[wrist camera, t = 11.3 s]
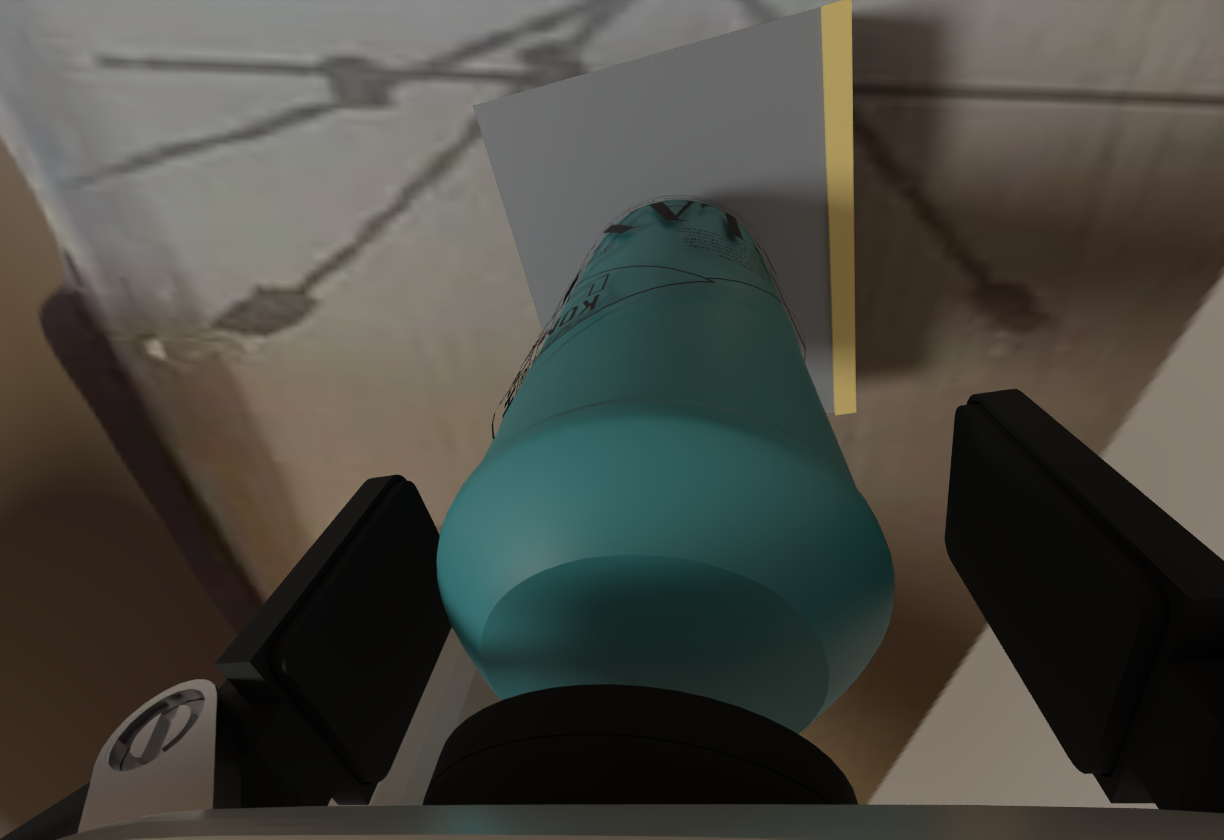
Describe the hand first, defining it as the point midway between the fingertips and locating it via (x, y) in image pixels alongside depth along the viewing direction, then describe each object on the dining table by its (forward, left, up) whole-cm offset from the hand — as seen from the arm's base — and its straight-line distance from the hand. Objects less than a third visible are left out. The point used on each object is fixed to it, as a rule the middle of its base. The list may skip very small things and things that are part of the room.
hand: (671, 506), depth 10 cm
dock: (0, 0, -17) cm, 17 cm away
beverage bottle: (0, 0, -13) cm, 13 cm away
